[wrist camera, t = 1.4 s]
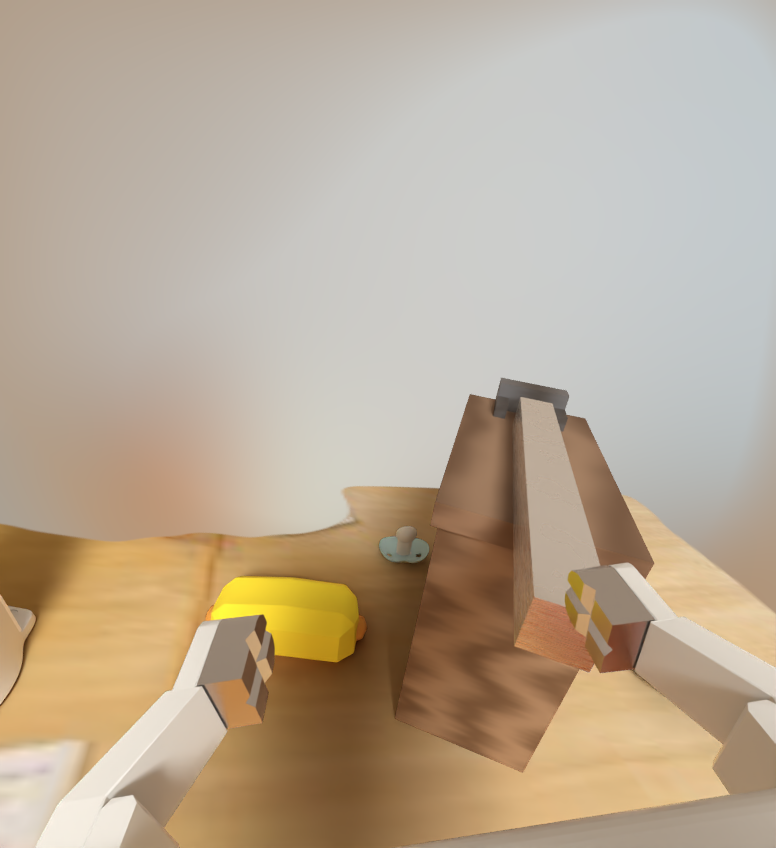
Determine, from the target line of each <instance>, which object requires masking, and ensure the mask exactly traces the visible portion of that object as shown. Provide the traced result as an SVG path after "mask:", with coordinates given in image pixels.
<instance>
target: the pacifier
mask: <svg viewBox="0 0 776 848" xmlns="http://www.w3.org/2000/svg"><path fill="white" fill-rule="evenodd" d="M416 536H417V530H416V529H415V528H414V527H411V526H404V527H401V528H399V529H398V530H397V531H396V536H391V537H385V538H383V539H381V540H380V543H379V549H380V551H381V553H382V555H383V556H384V557H385V558H386V559H388V560H389V561H391V562H409V563H417V562H420V561H422V560H424V559H425V558H426V556H427V555H428V553H429V545H428V544H427V543H426V542H425V541H424V540H422V539H418V538H416ZM387 554H389V555H390V556H388V555H387ZM418 554H420V555H421V557H416V555H418Z"/></svg>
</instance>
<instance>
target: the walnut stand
mask: <svg viewBox="0 0 776 848" xmlns="http://www.w3.org/2000/svg"><path fill="white" fill-rule="evenodd" d="M520 397H524V398H529V399H533V400H538V401H543V402H548V403H552V404H553V407H554V410H555V414H556V417H557V421H558V424H559V427H560V431H561V434H562V437H563V441H564V444H565V448H566V451H567V454H568V458H569V461H570V465H571V468H572V471H573V475H574V478H575V481H576V485H577V488H578V492H579V495H580V498H581V502H582V505H583V509H584V512H585V515H586V519H587V522H588V526H589V529H590V532H591V536H592V539H593V542H594V546H595V549H596V553H597V556H598V559H599V563H600V566H603V565H607V566H608V565H614V564H620V563H630V564H631V565H633V566H634V567H635V568H636V569H637V571H638V572H639V573H640V574H641V575H642V576H643V577H644V579H646V577H647V575H648V573H649V572H650V570H651V568H652V567H653V565H654V562H653V559H652V557H651V555H650V553H649V551H648V549H647V547H646V545H645V543H644V541H643V539H642V536H641V534H640V532H639V530H638V528H637V526H636V524H635V522H634V520H633V518H632V516H631V513H630V511H629V509H628V507H627V505H626V503H625V501H624V499H623V497H622V495H621V493H620V491H619V488H618V486H617V484H616V482H615V480H614V479H613V476H612V474H611V472H610V470H609V468H608V465H607V463H606V461H605V459H604V457H603V455H602V453H601V451H600V449H599V447H598V444H597V442H596V440H595V438H594V436H593V434H592V432H591V430H590V428H589V426H588V424H587V421H586V420H585V419H584V418H580V417H575V416H570V415H566V412H565V407H566V405H567V402H568V399H569V395H568V392H567V391H565V390H560V389H555V388H550V387H545V386H540V385H535V384H530V383H525V382H520V381H514V380H510V379H505V378H501V381H500V385H499V389H498V393H497V396H496V400H495V399H490V398H485V397H480V396H476V395H471V394H470V396H469V399H468V402H467V405H466V408H465V411H464V415H463V418H462V421H461V424H460V427H459V430H458V433H457V436H456V439H455V443H454V445H453V449H452V452H451V455H450V458H449V461H448V464H447V467H446V470H445V473H444V477H443V480H442V483H441V486H440V489H439V492H438V495H437V498H436V501H435V506H434V511H433V515H432V520H431V525H430V526H433V527H437V528H438V529H437V533H436V538H435V542H434V546H433V551H432V555H431V560H430V564H429V569H428V573H427V578H426V582H425V586H424V591H423V595H422V600H421V604H420V609H419V613H418V617H417V622H416V626H415V631H414V635H413V640H412V644H411V648H410V653H409V657H408V662H407V666H406V671H405V675H404V679H403V684H402V688H401V693H400V697H399V702H398V706H397V710H396V715H395V719H397V720H399V721H402V722H404V723H406V724H409V725H411V726H414V727H416V728H418V729H421V730H423V731H425V732H428V733H430V734H433V735H435V736H437V737H440V738H442V739H444V740H447V741H449V742H452V743H454V744H456V745H459V746H461V747H463V748H466V749H468V750H470V751H473V752H475V753H478V754H480V755H482V756H485V757H487V758H489V759H492V760H494V761H497V762H499V763H501V764H504V765H506V766H508V767H511V768H513V769H516V770H518V771H520V772H523V771H524V769H525V768H526V766H527V764H528V762H529V760H530V758H531V757H532V755H533V753H534V751H535V749H536V748H537V746H538V744H539V742H540V740H541V738H542V737H543V735H544V733H545V731H546V729H547V727H548V726H549V724H550V722H551V720H552V718H553V717H554V715H555V713H556V711H557V709H558V707H559V706H560V704H561V702H562V700H563V698H564V696H565V695H566V693H567V691H568V689H569V687H570V686H571V684H572V682H573V680H574V678H575V676H576V675H577V673H578V671H579V669H577V668H575V667H572V666H569V665H566V664H563V663H560V662H558V661H555V660H552V659H549V658H546V657H543V656H540V655H538V654H535V653H532V652H529V651H526V650H523V649H521V648H518V647H515V646H514V558H513V421H514V418H515V414H516V411H517V407H518V404H519V401H520Z"/></svg>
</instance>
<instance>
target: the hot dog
mask: <svg viewBox="0 0 776 848" xmlns="http://www.w3.org/2000/svg"><path fill="white" fill-rule="evenodd" d="M262 614H263V615H264V617H265V619H266V621H267V625H266V629H265V630H266V631H268V632H269V633H271V634H272V637H273V640H274V646H275V655H280V656H288V657H296V658H304V659H313V660H321V661H329V662H339V661H340V660H342V659H344V658H346V657H347V656H349V655H351V654H353V653H354V649H355V644H356V641H357V640H360V639H362V638H363V636H364V634H365V632H366V630H367V625H366V622H365V619H364V617H363V616H361V615H359V613H358V604H357V597H356V596H355V595H354V594H353V593H352V591H351V590H350V589H349V588H348V587H347V585H345V584H337V583H330V582H323V581H316V580H309V579H302V578H294V577H260V576H240V577H237V578H235V579H234V580H232V581H231V582H230V583H228V584H227V585H226V586H224V588H223V590H222V592H221V593H220V595H219V597H218V599H217V601H216V603H215V605H213V606H211V607H210V609H209V611H208V612H207V614H206V621H210V620H218V619H226V618H235V617H244V616H253V615H262Z"/></svg>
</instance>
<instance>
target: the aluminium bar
mask: <svg viewBox="0 0 776 848" xmlns="http://www.w3.org/2000/svg"><path fill="white" fill-rule="evenodd" d="M513 558H514V646H515V647H518V648H521V649H523V650H526V651H529V652H532V653H535V654H538V655H540V656H543V657H546V658H549V659H552V660H555V661H558V662H560V663H563V664H566V665H569V666H572V667H575V668H577V669H580V670H583V671H586V672H590V671H591V669H592V667H593V665H594V662H593V660H592V658H591V657H590V655H589V653H588V651H587V650H586V648H585V640H586V637H585V636H583V635H582V634H581V633H579V632H578V631H576V630H575V628H574V627H573V625H572V623H571V621H570V619H569V616H568V614H567V611H566V606H565V592H566V591H567V590H568V589H569V588H570V587H571V585H570V584H569V582H568V581H567V580H568V574H569V573H570V572H571V570H578V569H584V568H590V567H597V566H600V563H599V559H598V556H597V553H596V549H595V546H594V542H593V539H592V536H591V532H590V529H589V526H588V522H587V519H586V515H585V512H584V509H583V505H582V502H581V498H580V495H579V492H578V488H577V485H576V481H575V478H574V475H573V471H572V468H571V465H570V461H569V458H568V454H567V451H566V448H565V444H564V441H563V437H562V434H561V431H560V427H559V424H558V421H557V417H556V414H555V410H554V407H553V404H552V403H548V402H543V401H538V400H533V399H529V398H524V397H520V401H519V404H518V407H517V411H516V414H515V418H514V421H513Z"/></svg>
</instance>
